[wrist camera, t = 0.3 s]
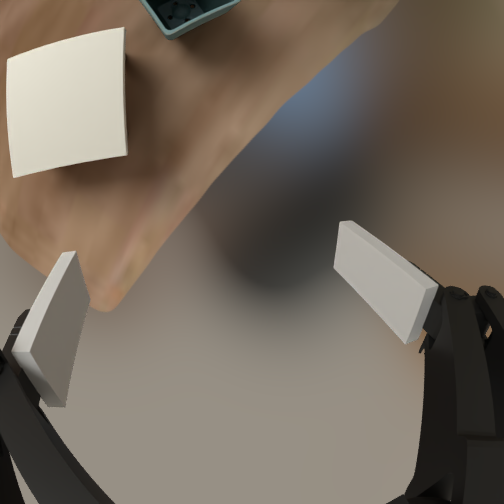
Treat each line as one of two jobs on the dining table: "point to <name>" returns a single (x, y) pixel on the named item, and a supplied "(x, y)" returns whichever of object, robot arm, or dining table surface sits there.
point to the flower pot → (185, 14)
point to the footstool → (67, 102)
